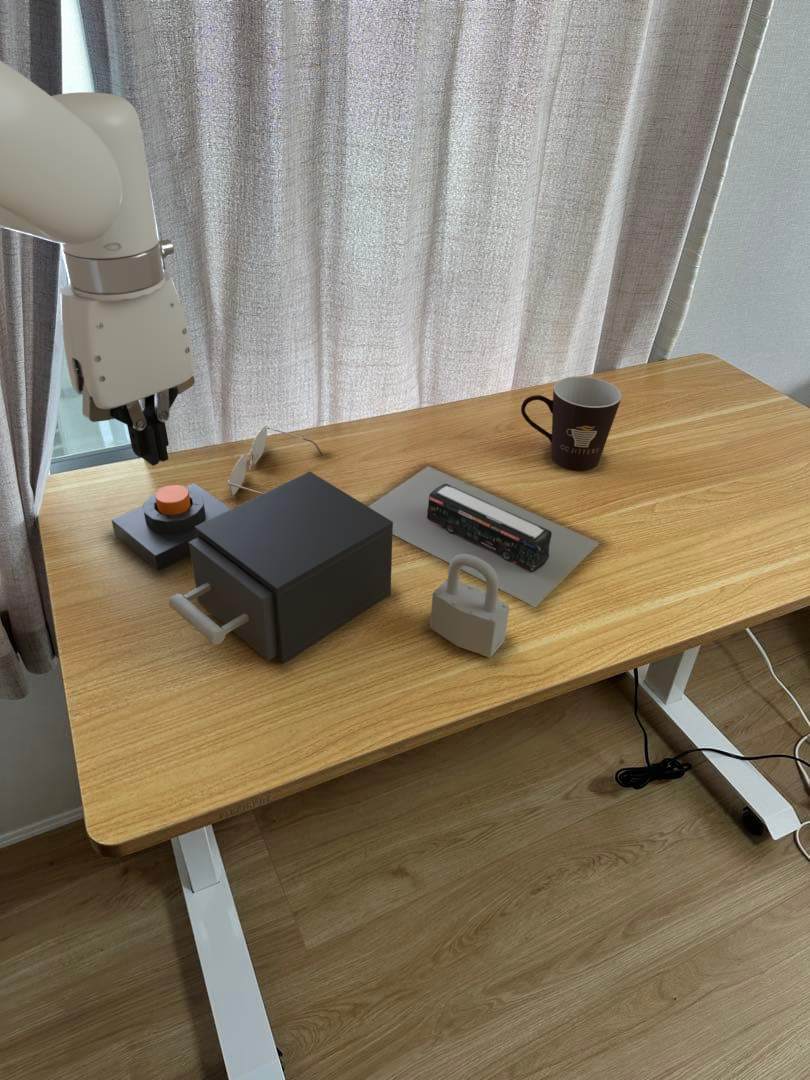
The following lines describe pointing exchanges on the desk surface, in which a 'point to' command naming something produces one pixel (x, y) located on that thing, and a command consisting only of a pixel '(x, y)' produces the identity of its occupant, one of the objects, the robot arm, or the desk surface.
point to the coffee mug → (579, 420)
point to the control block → (166, 528)
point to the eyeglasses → (256, 452)
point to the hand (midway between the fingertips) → (152, 456)
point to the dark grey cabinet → (308, 556)
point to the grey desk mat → (484, 533)
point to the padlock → (470, 609)
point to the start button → (172, 500)
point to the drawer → (228, 601)
